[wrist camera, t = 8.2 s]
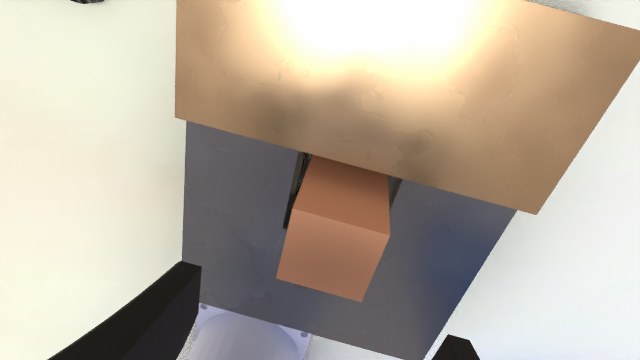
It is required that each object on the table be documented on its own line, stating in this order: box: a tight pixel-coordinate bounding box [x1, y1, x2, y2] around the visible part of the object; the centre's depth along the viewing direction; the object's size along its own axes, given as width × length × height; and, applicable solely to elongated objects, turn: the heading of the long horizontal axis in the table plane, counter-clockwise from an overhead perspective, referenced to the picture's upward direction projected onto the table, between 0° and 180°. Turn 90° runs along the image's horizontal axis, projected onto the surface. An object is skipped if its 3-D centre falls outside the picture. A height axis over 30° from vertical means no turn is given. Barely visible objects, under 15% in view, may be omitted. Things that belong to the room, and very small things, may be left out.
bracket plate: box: [175, 0, 640, 360], centre depth 16 cm, size 18×14×5 cm
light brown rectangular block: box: [276, 155, 390, 302], centre depth 15 cm, size 3×3×7 cm
